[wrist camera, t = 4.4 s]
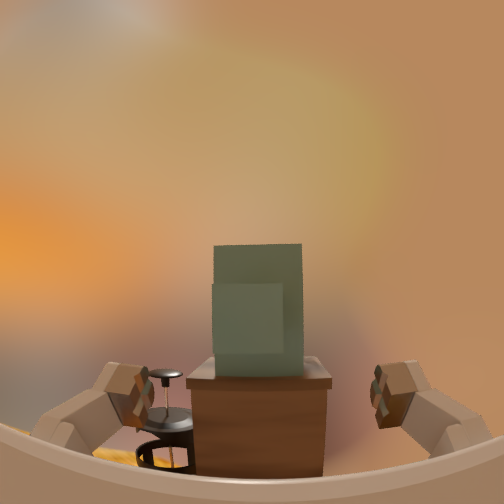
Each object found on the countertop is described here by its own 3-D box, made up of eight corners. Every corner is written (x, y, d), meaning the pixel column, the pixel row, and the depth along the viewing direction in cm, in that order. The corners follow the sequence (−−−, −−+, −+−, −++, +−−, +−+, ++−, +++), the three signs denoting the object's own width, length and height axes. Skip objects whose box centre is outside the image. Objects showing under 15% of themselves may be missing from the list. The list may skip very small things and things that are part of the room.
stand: (308, 600, 16) (331, 377, 20) (210, 599, 16) (186, 377, 20) (304, 553, 24) (315, 356, 28) (222, 553, 25) (210, 357, 29)
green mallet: (321, 422, 12) (319, 206, 13) (178, 420, 12) (175, 210, 13) (296, 356, 28) (294, 258, 29) (229, 357, 29) (228, 259, 30)
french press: (184, 550, 25) (163, 385, 28) (129, 522, 29) (104, 370, 32) (232, 509, 35) (227, 366, 38) (181, 491, 39) (170, 358, 43)
